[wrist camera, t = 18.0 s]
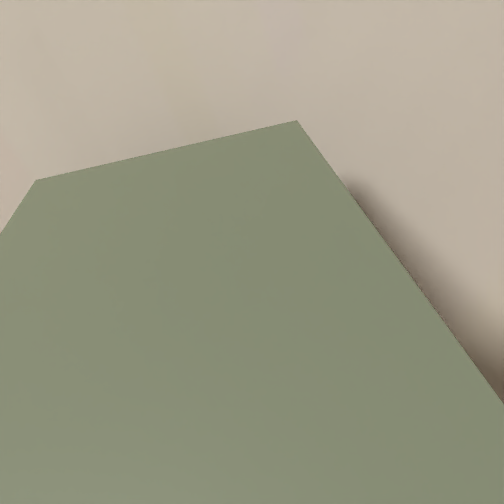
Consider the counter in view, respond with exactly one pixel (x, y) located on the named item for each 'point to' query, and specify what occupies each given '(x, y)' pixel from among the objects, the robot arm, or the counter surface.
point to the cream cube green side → (228, 342)
